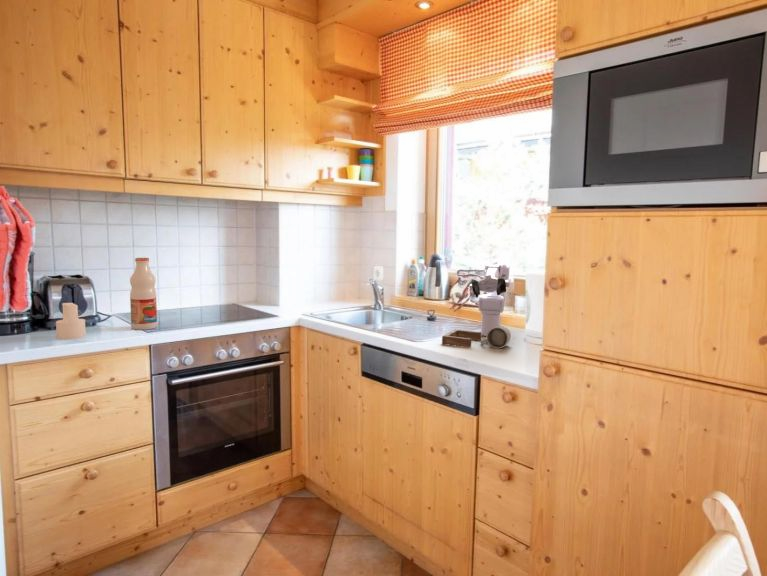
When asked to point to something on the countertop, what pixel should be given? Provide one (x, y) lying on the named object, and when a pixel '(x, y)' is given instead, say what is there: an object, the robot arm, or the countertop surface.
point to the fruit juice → (143, 297)
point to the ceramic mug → (497, 337)
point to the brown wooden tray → (460, 337)
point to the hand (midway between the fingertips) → (486, 293)
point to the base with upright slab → (70, 323)
